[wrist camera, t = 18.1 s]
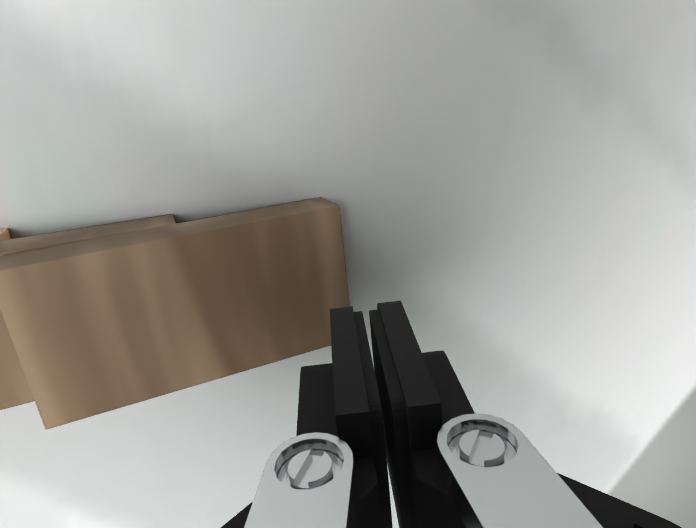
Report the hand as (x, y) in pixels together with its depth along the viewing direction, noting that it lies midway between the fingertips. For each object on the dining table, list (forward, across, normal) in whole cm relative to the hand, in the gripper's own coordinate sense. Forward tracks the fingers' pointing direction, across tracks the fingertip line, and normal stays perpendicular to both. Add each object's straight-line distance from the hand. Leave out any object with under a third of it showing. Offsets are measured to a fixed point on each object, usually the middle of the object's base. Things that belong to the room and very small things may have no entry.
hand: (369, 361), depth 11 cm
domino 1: (+7, 0, 0) cm, 7 cm away
